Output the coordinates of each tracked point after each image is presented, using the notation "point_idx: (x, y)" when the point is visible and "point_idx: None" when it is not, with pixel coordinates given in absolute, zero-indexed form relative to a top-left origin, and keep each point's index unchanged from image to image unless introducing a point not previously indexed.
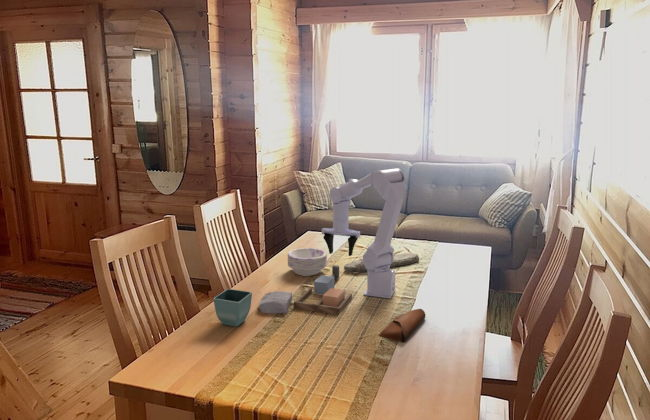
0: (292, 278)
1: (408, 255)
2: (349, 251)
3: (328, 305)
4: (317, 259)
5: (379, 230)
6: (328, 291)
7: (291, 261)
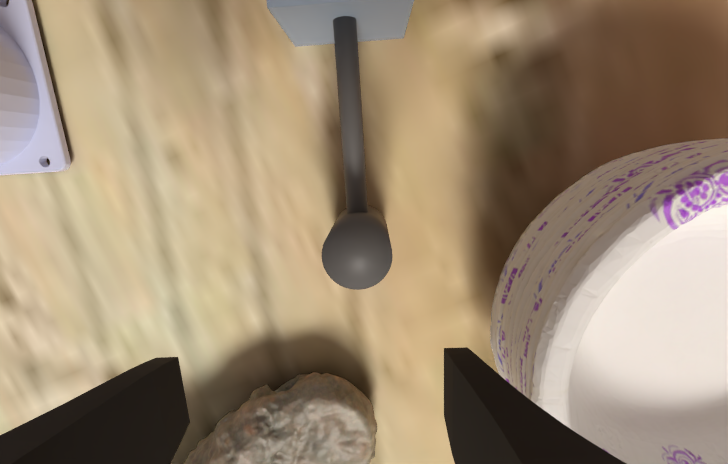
0: (690, 118)
1: None
2: (110, 389)
3: None
4: (588, 250)
5: None
6: None
7: None
